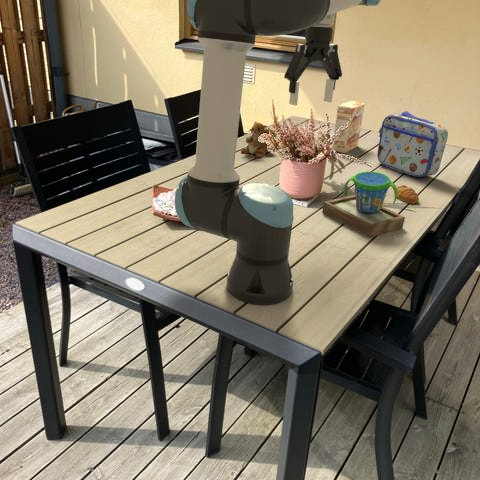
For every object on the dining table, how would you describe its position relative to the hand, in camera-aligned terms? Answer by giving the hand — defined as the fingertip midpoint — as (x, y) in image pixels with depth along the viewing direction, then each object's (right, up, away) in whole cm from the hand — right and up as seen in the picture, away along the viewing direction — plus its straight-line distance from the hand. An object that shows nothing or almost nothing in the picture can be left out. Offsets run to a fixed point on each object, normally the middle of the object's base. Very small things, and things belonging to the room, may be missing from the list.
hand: (310, 103), depth 148 cm
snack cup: (+18, -31, +4) cm, 37 cm away
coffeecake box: (+26, 0, +75) cm, 79 cm away
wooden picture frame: (+16, -35, +4) cm, 38 cm away
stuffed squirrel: (-13, -4, +61) cm, 62 cm away
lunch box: (+44, -13, +50) cm, 68 cm away
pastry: (+36, -27, +23) cm, 50 cm away
